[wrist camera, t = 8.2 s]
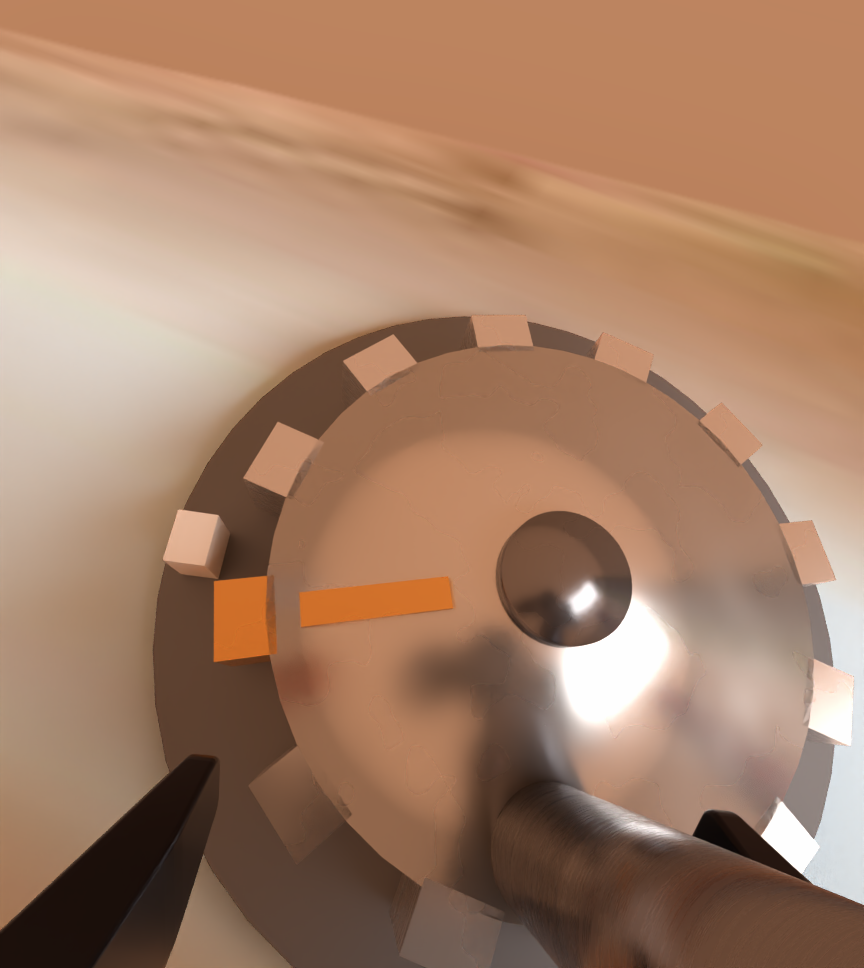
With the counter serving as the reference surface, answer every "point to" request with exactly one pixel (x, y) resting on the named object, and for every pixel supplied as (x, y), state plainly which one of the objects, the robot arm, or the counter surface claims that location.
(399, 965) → the stand
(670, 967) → the sprocket
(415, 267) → the counter surface
